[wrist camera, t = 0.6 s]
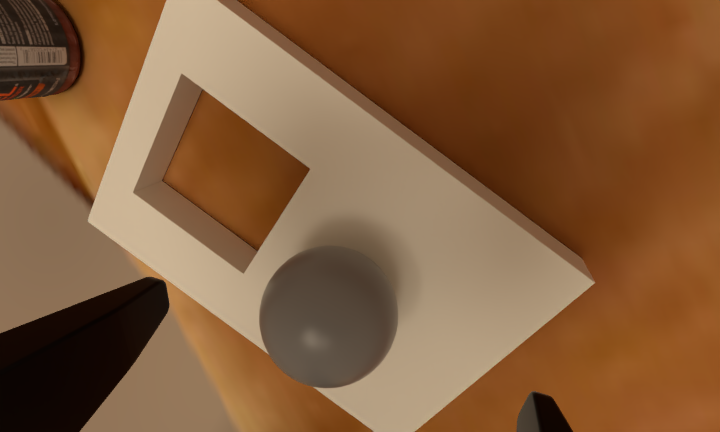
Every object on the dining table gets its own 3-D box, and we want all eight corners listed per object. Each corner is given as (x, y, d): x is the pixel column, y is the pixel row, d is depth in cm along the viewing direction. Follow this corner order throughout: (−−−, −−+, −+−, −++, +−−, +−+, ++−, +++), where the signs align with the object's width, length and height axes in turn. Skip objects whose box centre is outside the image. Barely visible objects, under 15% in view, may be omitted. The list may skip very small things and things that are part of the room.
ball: (363, 349, 24) (328, 445, 18) (273, 283, 24) (208, 358, 18) (432, 276, 21) (417, 361, 15) (330, 200, 21) (275, 257, 15)
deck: (401, 416, 28) (395, 447, 26) (118, 207, 28) (87, 221, 26) (582, 258, 21) (595, 282, 19) (208, -21, 21) (177, -30, 19)
